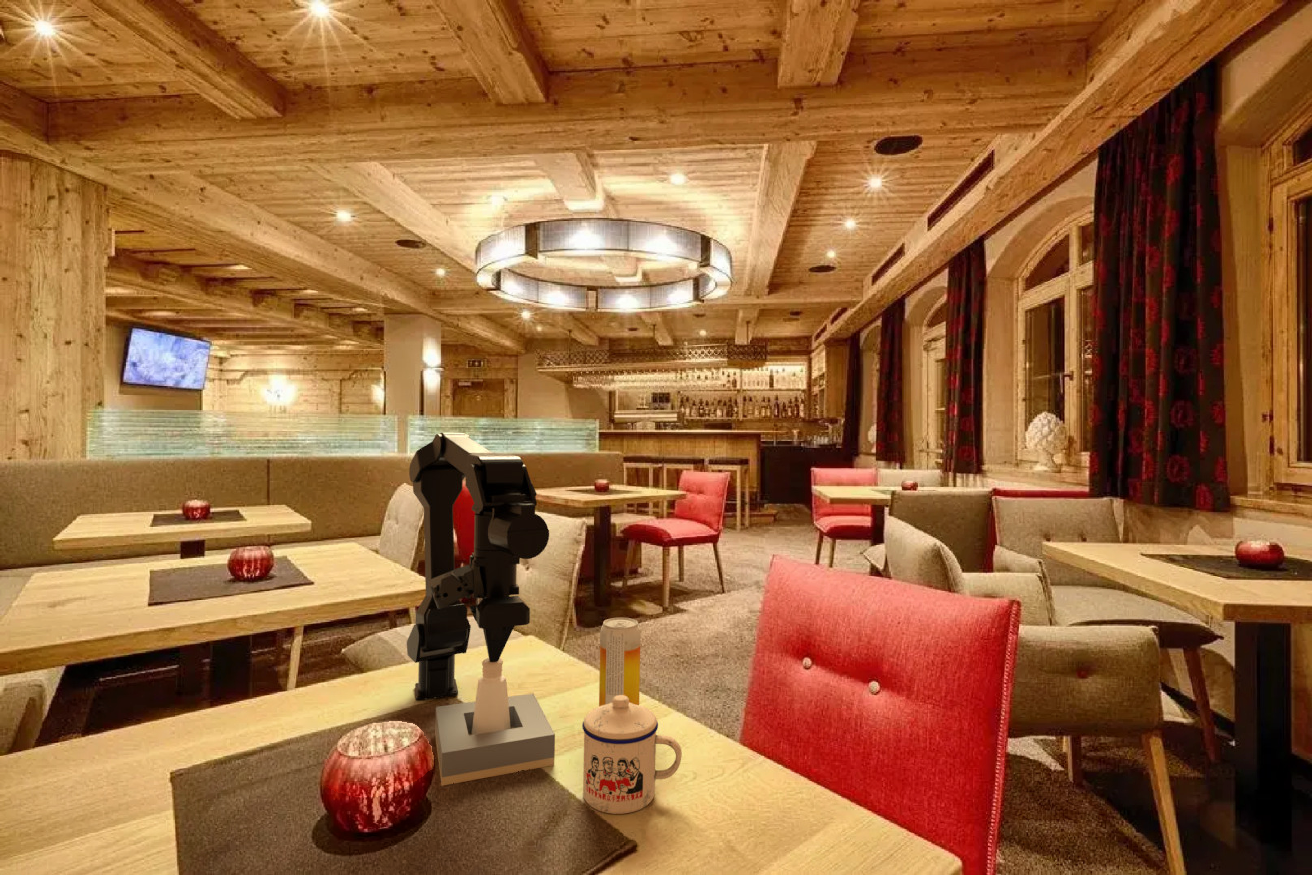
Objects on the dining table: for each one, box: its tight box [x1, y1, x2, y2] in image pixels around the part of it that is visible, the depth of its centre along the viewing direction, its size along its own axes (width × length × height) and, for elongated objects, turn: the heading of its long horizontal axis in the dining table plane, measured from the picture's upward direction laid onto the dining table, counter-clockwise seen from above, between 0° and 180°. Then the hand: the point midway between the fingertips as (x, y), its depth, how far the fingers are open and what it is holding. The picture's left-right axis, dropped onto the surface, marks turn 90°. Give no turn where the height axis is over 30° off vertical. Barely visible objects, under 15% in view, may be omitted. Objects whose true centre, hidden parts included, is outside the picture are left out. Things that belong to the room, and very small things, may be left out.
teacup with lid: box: [582, 695, 682, 815], centre depth 75 cm, size 12×9×12 cm
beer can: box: [598, 617, 642, 707], centre depth 95 cm, size 6×6×15 cm
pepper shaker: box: [471, 657, 511, 735], centre depth 86 cm, size 5×5×11 cm
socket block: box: [434, 692, 556, 787], centre depth 86 cm, size 14×14×4 cm
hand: (493, 661), depth 86 cm, fingers closed
